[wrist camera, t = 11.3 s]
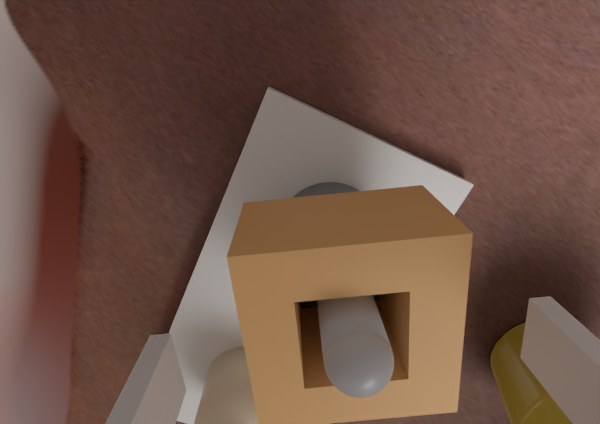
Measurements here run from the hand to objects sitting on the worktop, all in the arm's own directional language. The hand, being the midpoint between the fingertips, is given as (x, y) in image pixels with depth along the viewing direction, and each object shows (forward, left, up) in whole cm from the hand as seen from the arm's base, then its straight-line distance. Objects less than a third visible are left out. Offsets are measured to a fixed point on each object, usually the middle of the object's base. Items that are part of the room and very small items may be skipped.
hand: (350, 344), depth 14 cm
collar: (0, 0, -5) cm, 5 cm away
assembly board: (-6, 0, -11) cm, 12 cm away
